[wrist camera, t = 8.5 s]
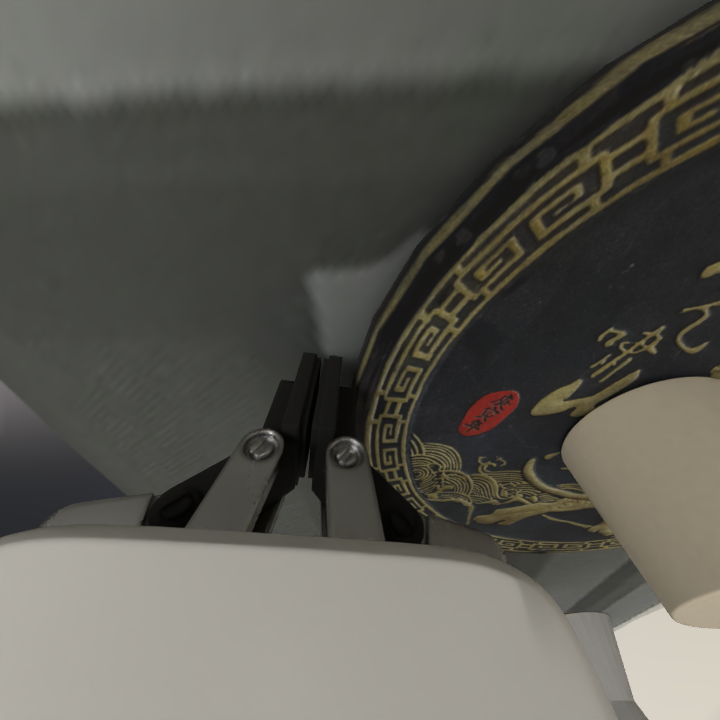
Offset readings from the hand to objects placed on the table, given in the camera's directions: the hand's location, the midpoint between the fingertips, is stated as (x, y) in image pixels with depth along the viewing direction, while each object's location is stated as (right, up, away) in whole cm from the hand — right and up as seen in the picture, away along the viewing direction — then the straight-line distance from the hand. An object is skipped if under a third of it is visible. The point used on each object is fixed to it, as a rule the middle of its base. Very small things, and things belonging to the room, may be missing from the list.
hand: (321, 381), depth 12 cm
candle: (+15, -2, +1) cm, 15 cm away
